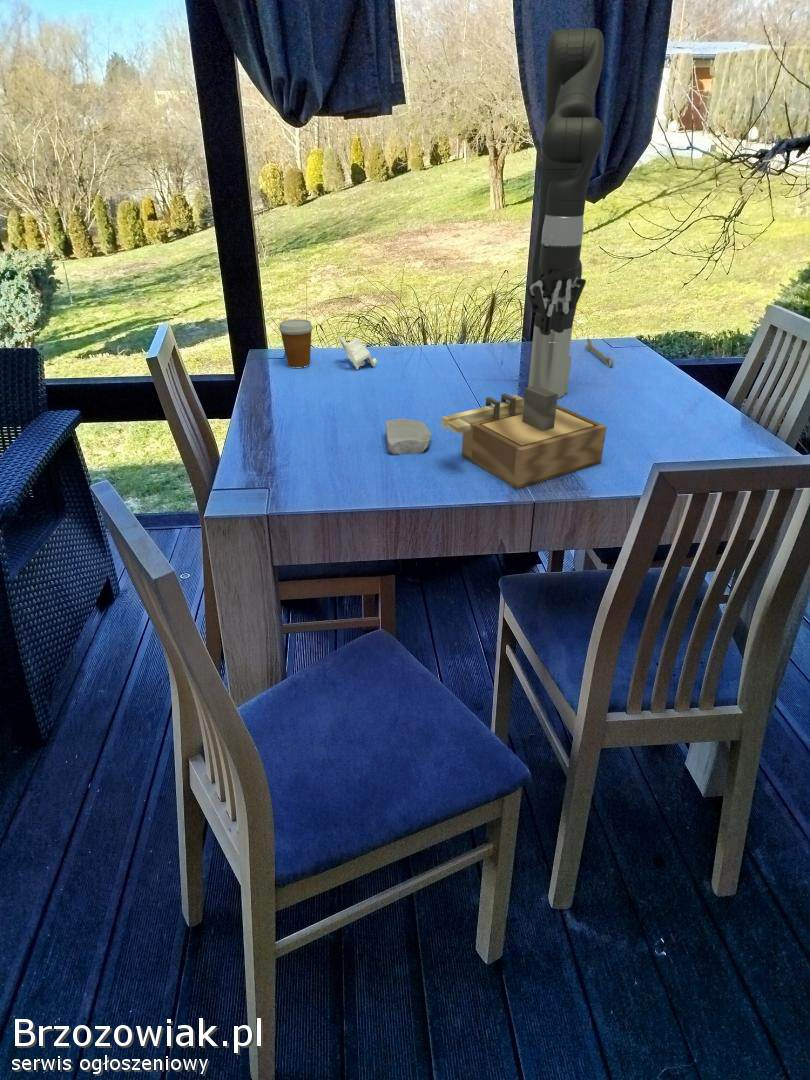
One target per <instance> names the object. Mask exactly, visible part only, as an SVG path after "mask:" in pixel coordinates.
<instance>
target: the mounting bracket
mask: <svg viewBox="0 0 810 1080" xmlns="http://www.w3.org/2000/svg"><path fill="white" fill-rule="evenodd" d="M342 336H343V335H340V334H339V336H338V338H337V339H338V340H339V342H340V344H341V347H342V348H343V351H344V353H345V354H346V356H347V357H348V360H349V361H350V363H351V362H352V363H353V364H352V363H351V364H352V365H354V366H355V367H356V368H355V367H354V366H353V367H354V368H355V370H357V369H359V366H362V367H363V366H364V365H365V364H366V362H365V360H366V359H367V360H368V361H369V362H370V363H371V364H370V363H369V362H368V361H367V360H366V361H367V362H368V363H369V364H370V365H371V367H372V366H375V367H376V365H377V364H378V363H379V362H378V360H377V359H376V357H374V358H373V357H372V355H371V352H370V351H369V349H367V348H366V347H365V346H364V345H363V344H362V341H361V340H360V337H356V338H355V339H353V340H351V341H349V342H347V341H346V340H345V339H344V337H342ZM359 370H360V369H359Z"/></svg>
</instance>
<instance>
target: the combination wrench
mask: <svg viewBox="0 0 810 1080" xmlns="http://www.w3.org/2000/svg"><path fill="white" fill-rule="evenodd" d="M586 341H587V344H585V345H584V346H585V347H584V348H585V351H586V352H590V351H591V352H592V353H593V354H594V355H595V356H597V358H599V359H600V360H601V361H602V362H603V363H604V364H605V365H606V367H607V366H609V365H610V366H609V367H611V368H613V367H614V363H615V361H614V359H613V357H607V356H606V355H605V354H603V353H602V352H601V351H600V350H599V349H598V348H596V347H595V346H594V345H593V342H592V339H591V338H586ZM609 367H608V368H609Z"/></svg>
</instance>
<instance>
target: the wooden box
mask: <svg viewBox="0 0 810 1080" xmlns="http://www.w3.org/2000/svg"><path fill="white" fill-rule="evenodd" d="M500 396H501V397H500V401H499V400H497V399H495V398H493V397H491V396H488V397H486V398H485V407H486V406H490V405H495V408H494V418H491V419H487V420H483V421H479V422H475V423H471V424H470V425H471V431H467V432H463V433H462V444H461V445H462V446H461V457H463V458H465V459H466V460H468V461H469V462H471V463H473V464H474V465H476V466H478V467H479V468H481V469H483V470H485V472H487V473H489V474H491V475H493V476H494V477H496V478H498V479H499V478H500V480H501V481H503V482H504V481H505V482H504V483H506V484H507V485H509V484H510V485H509V486H511V487H512V488H514V487H515V488H514V489H516V488H517V489H516V490H519V488H520V489H523V488H526V487H529V485H530V486H532V485H536V484H539V483H542V482H545V480H546V481H549V480H552V479H555V478H558V476H559V477H561V476H565V475H567V474H572V473H575V472H577V471H581V470H584V469H586V468H589V467H593V466H597V465H600V464H602V458H603V452H604V446H605V440H606V434H607V427H608V426H606V425H604V424H602V423H600V422H597V421H595V420H593V419H591V418H588V417H586V416H584V415H581V414H580V413H576V412H575V411H572V410H569V409H567V408H565V407H563V406H561V405H559V404H557V406H556V409H558V410H560V411H563V412H565V413H567V414H569V415H572V416H574V417H576V418H579V419H581V420H583V421H585V422H588V423H590V424H592V425H594V427H592V428H588V429H585V430H581V431H577V432H574V433H570V434H567V435H563V436H559V437H556V438H552V439H549V440H545V441H541V442H538V443H534V444H530V445H527V446H523V447H521V446H519V445H517V444H515V443H513V442H511V441H510V440H508V439H506V438H504V437H502V436H500V435H498V434H496V433H494V432H493V431H491V430H489V429H487V428H485V427H483V426H482V424H485V423H489V422H493V421H497V420H501V419H505V418H509V417H513V416H517V415H521V414H523V412H519V413H515V402H516V398H514V397H512V396H513V395H510V394H507V393H502V394H500ZM508 400H509V401H510V410H509V414H507V415H503V416H499V414H500V403H503V402H507V401H508ZM523 409H524V404H523ZM548 479H549V480H548ZM535 483H536V484H535ZM522 487H523V488H522Z"/></svg>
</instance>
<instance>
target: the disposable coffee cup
mask: <svg viewBox="0 0 810 1080" xmlns="http://www.w3.org/2000/svg"><path fill="white" fill-rule="evenodd" d="M313 329H314V326H313V325H312V322H311V321H310V320H307V319H301V318H297V319H286V320H283V321H280V323H279V327H278V330H279V333H280V335H281V340H282V344H283V348H284V353H285V358H286V362H287V367H289V366H290V367H304V366H307V365H309V364H310V365H311V350H312V349H311V348H312V347H311V346H312V333H313V332H312V331H313ZM290 367H289V368H290Z"/></svg>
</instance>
